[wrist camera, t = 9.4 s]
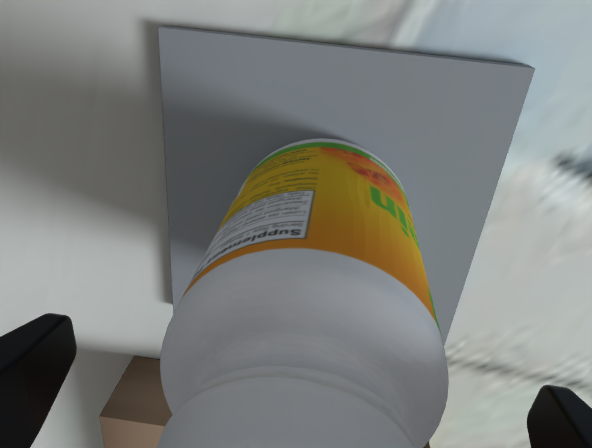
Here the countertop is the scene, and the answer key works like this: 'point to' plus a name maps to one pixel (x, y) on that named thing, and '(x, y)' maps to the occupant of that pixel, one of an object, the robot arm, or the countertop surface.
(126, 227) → the countertop surface
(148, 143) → the countertop surface
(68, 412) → the countertop surface
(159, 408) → the walnut open tray
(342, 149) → the supplement bottle
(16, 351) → the robot arm
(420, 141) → the grey rubber mat
